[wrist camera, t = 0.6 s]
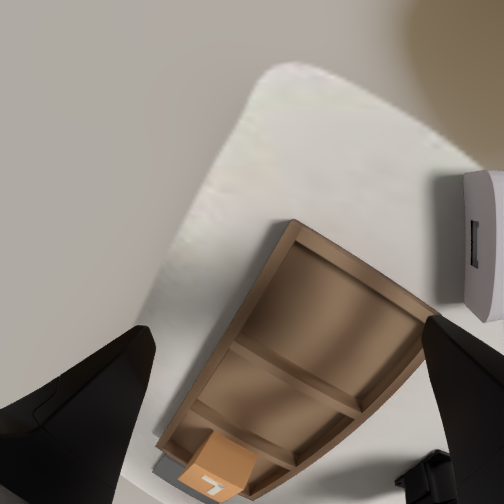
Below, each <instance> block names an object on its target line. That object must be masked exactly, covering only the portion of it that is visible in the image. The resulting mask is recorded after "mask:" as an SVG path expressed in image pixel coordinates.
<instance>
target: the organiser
mask: <svg viewBox="0 0 504 504" xmlns="http://www.w3.org/2000/svg"><path fill="white" fill-rule="evenodd" d="M435 314H440V313H439V312H437V311H436V310H435V309H433V308H432V307H430V306H429V305H427V304H426V303H425V302H423V301H422V300H420V299H419V298H417V297H416V296H415V295H413V294H412V293H410V292H409V291H407V290H406V289H404V288H403V287H401V286H400V285H398V284H397V283H395V282H394V281H393V280H391V279H390V278H388V277H387V276H385V275H384V274H382V273H380V272H379V271H377V270H376V269H374V268H373V267H371V266H370V265H368V264H367V263H365V262H364V261H362V260H361V259H359V258H357V257H356V256H354V255H353V254H351V253H350V252H348V251H346V250H345V249H343V248H342V247H340V246H339V245H337V244H335V243H334V242H332V241H330V240H329V239H327V238H326V237H324V236H322V235H321V234H319V233H318V232H316V231H314V230H313V229H311V228H309V227H308V226H306V225H304V224H303V223H301V222H299V221H298V220H296V219H294V220H292V221H290V223H289V225H288V227H287V228H286V230H285V232H284V234H283V235H282V237H281V239H280V240H279V242H278V244H277V246H276V247H275V249H274V251H273V253H272V254H271V256H270V258H269V259H268V261H267V263H266V265H265V266H264V268H263V270H262V271H261V273H260V275H259V277H258V278H257V280H256V282H255V283H254V285H253V287H252V288H251V290H250V292H249V294H248V295H247V297H246V299H245V300H244V302H243V304H242V305H241V307H240V309H239V310H238V312H237V314H236V315H235V317H234V319H233V320H232V322H231V324H230V325H229V327H228V329H227V331H226V332H225V334H224V335H223V337H222V339H221V340H220V342H219V344H218V345H217V347H216V349H215V350H214V352H213V354H212V355H211V357H210V359H209V360H208V362H207V364H206V365H205V367H204V369H203V370H202V372H201V373H200V375H199V377H198V378H197V380H196V382H195V383H194V385H193V386H192V388H191V390H190V391H189V393H188V395H187V396H186V398H185V399H184V401H183V403H182V404H181V406H180V407H179V409H178V411H177V412H176V414H175V416H174V417H173V419H172V420H171V422H170V424H169V425H168V427H167V428H166V430H165V431H164V433H163V435H162V436H161V438H160V439H159V441H158V443H157V444H156V446H155V447H157V448H158V449H160V450H161V451H163V452H164V453H166V454H167V455H169V456H170V457H172V458H173V459H175V460H176V461H178V462H180V463H181V464H183V465H184V466H187V464H188V463H189V461H190V460H191V458H192V457H193V455H194V454H195V452H196V451H197V449H198V448H199V447H200V446H201V445H202V443H203V442H204V441H205V440H206V439H207V438H208V437H209V436H210V434H211V433H212V432H213V431H215V432H217V433H219V434H221V435H222V436H224V437H226V438H227V439H229V440H231V441H233V442H234V443H236V444H238V445H240V446H242V447H244V448H245V449H247V450H249V451H251V452H253V453H255V454H257V455H258V457H257V459H256V462H255V464H254V467H253V469H252V472H251V474H250V477H249V479H248V481H247V484H246V486H245V488H244V490H243V491H241V492H239V493H238V495H240V496H243V497H245V498H247V499H249V500H251V501H254V500H255V499H257V498H259V497H261V496H263V495H264V494H266V493H268V492H270V491H271V490H273V489H275V488H276V487H278V486H279V485H281V484H283V483H284V482H286V481H287V480H289V479H291V478H292V477H294V476H295V475H297V474H298V473H300V472H301V471H303V470H304V469H305V468H307V467H308V466H310V465H311V464H313V463H314V462H315V461H317V460H318V459H319V458H321V457H322V456H323V455H325V454H326V453H327V452H329V451H330V450H331V449H333V448H334V447H335V446H336V445H338V444H339V443H340V442H341V441H343V440H344V439H345V438H346V437H348V436H349V435H350V434H351V433H352V432H353V431H355V430H356V429H357V428H358V427H359V426H360V425H361V424H363V423H364V422H365V421H366V420H367V419H368V418H369V417H370V416H371V415H372V414H374V413H375V412H376V411H377V410H378V409H379V408H380V407H381V406H382V405H383V404H384V403H385V402H386V401H387V400H388V399H389V398H390V397H391V396H392V395H393V394H394V393H395V392H396V391H397V390H398V389H399V388H400V387H401V386H402V385H403V384H404V382H405V381H406V380H407V379H408V378H409V377H410V376H411V375H412V374H413V373H414V371H415V370H416V369H417V368H418V367H419V366H420V365H421V363H422V362H423V361H424V360H425V355H424V351H423V347H422V342H421V335H422V332H423V328H424V325H425V322H426V319H427V317H428V316H429V315H435ZM440 315H441V314H440ZM441 316H442V315H441Z"/></svg>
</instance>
